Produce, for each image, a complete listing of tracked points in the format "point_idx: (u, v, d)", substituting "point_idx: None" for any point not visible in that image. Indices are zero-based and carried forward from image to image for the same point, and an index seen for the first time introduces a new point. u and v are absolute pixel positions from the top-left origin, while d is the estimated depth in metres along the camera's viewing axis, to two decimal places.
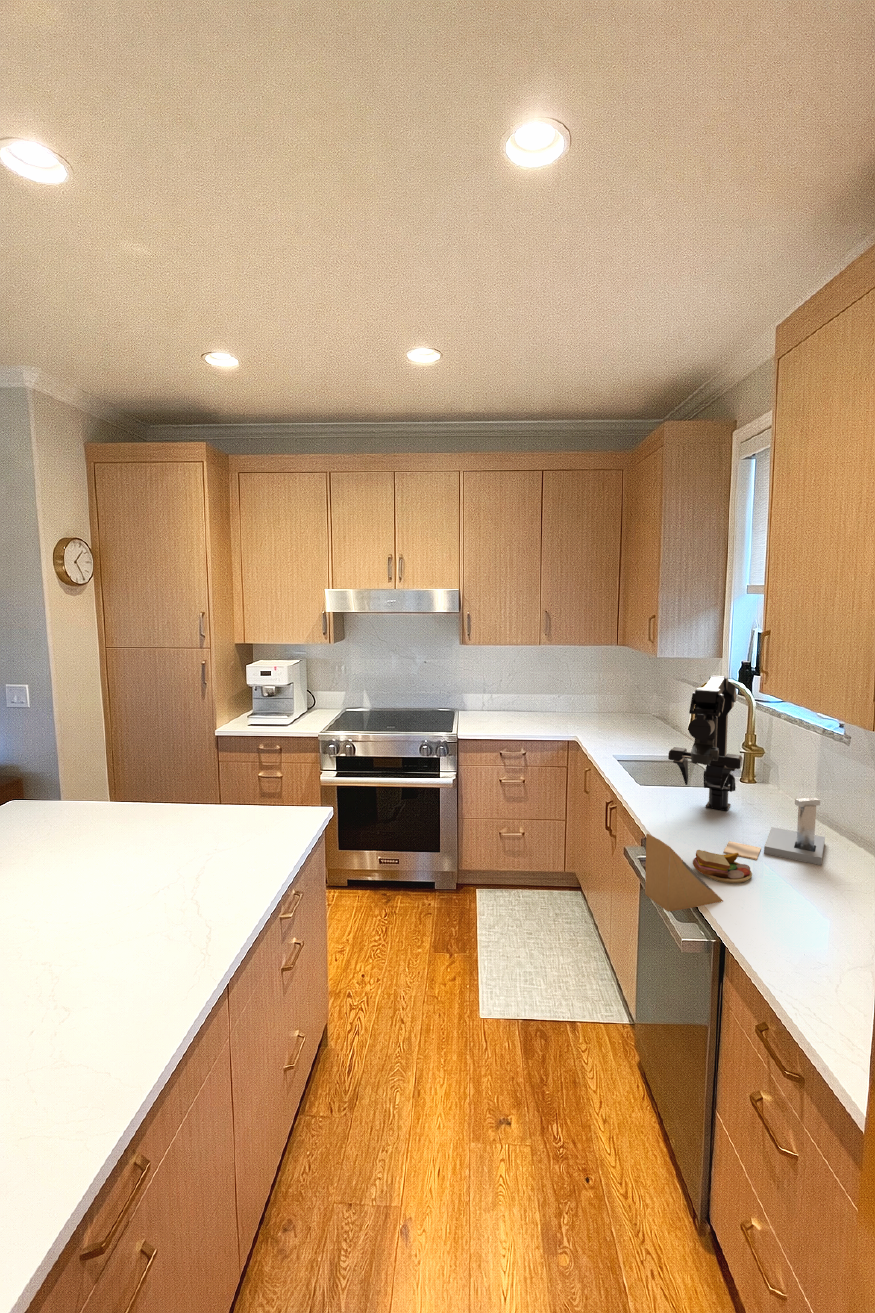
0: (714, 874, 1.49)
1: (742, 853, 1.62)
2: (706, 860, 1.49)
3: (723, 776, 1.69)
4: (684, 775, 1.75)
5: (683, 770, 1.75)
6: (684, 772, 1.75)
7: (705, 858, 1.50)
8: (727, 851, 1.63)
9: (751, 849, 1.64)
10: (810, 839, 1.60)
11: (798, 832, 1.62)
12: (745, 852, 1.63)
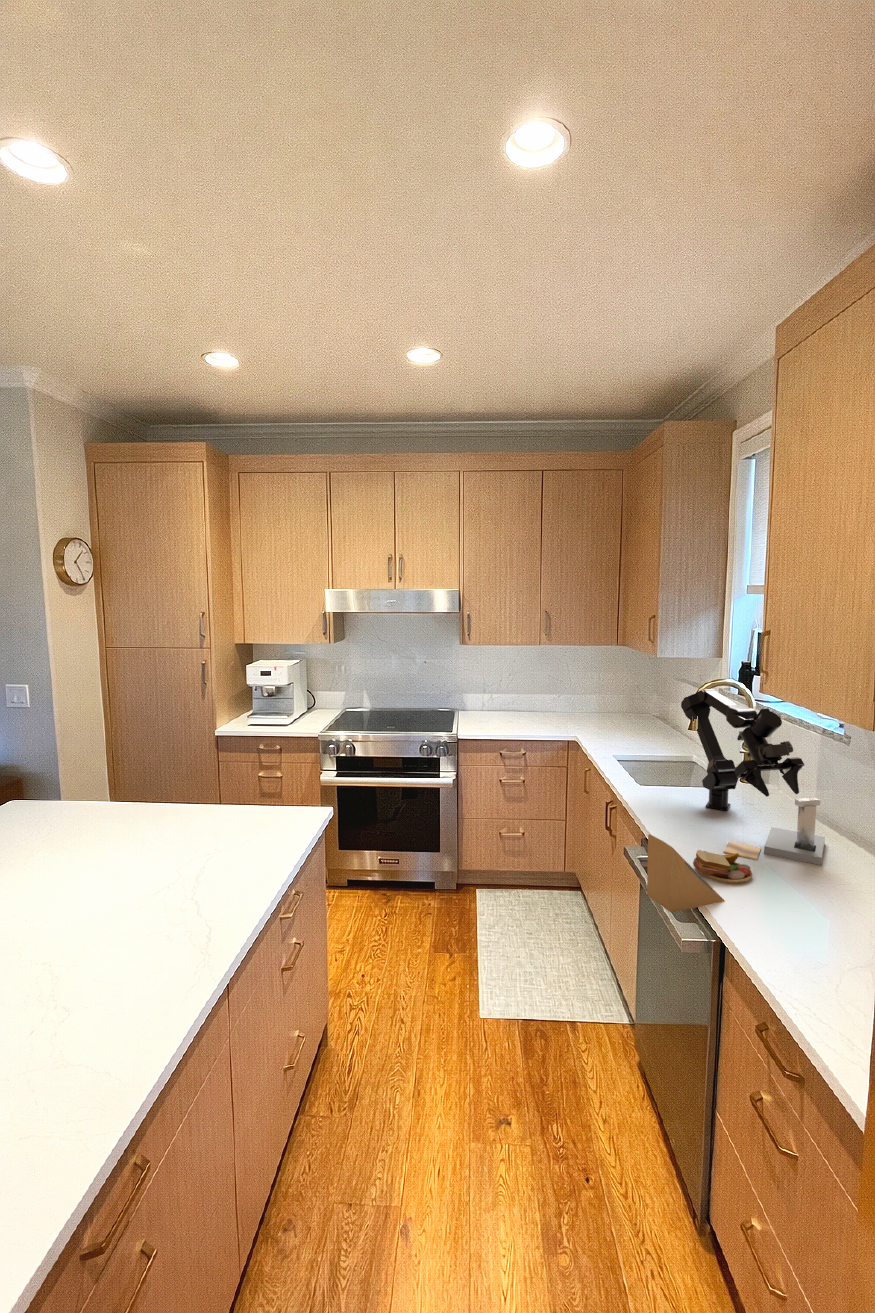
0: (715, 874, 1.48)
1: (742, 853, 1.62)
2: (706, 860, 1.49)
3: (794, 777, 1.72)
4: (763, 784, 1.69)
5: (761, 780, 1.70)
6: (762, 781, 1.70)
7: (705, 859, 1.50)
8: (727, 851, 1.63)
9: (751, 849, 1.64)
10: (810, 839, 1.60)
11: (798, 832, 1.62)
12: (745, 852, 1.63)
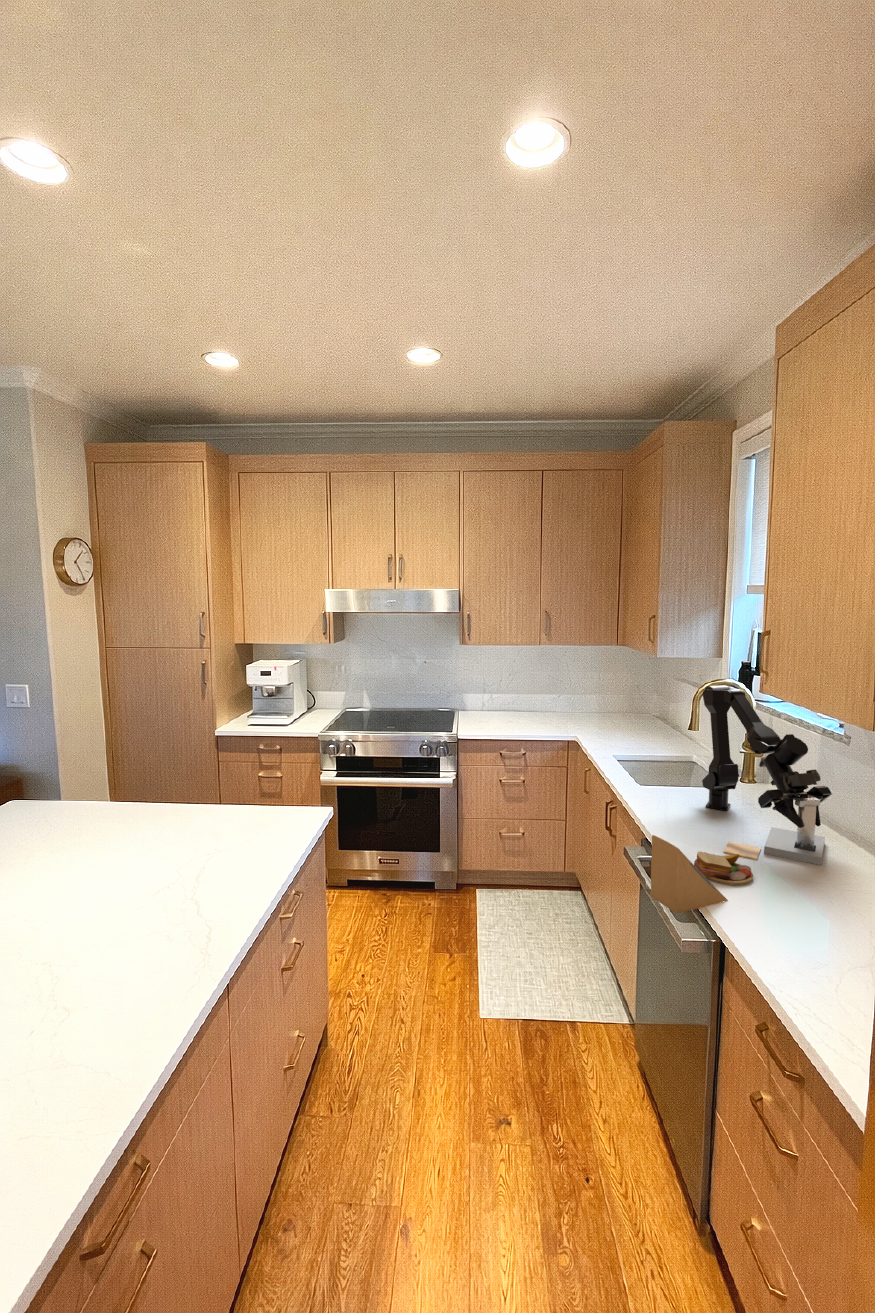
0: (716, 876, 1.48)
1: (742, 853, 1.62)
2: (708, 862, 1.48)
3: None
4: (796, 815, 1.60)
5: (793, 810, 1.61)
6: (795, 811, 1.61)
7: (706, 860, 1.49)
8: (727, 851, 1.63)
9: (751, 849, 1.64)
10: (810, 839, 1.60)
11: (798, 832, 1.62)
12: (745, 852, 1.63)
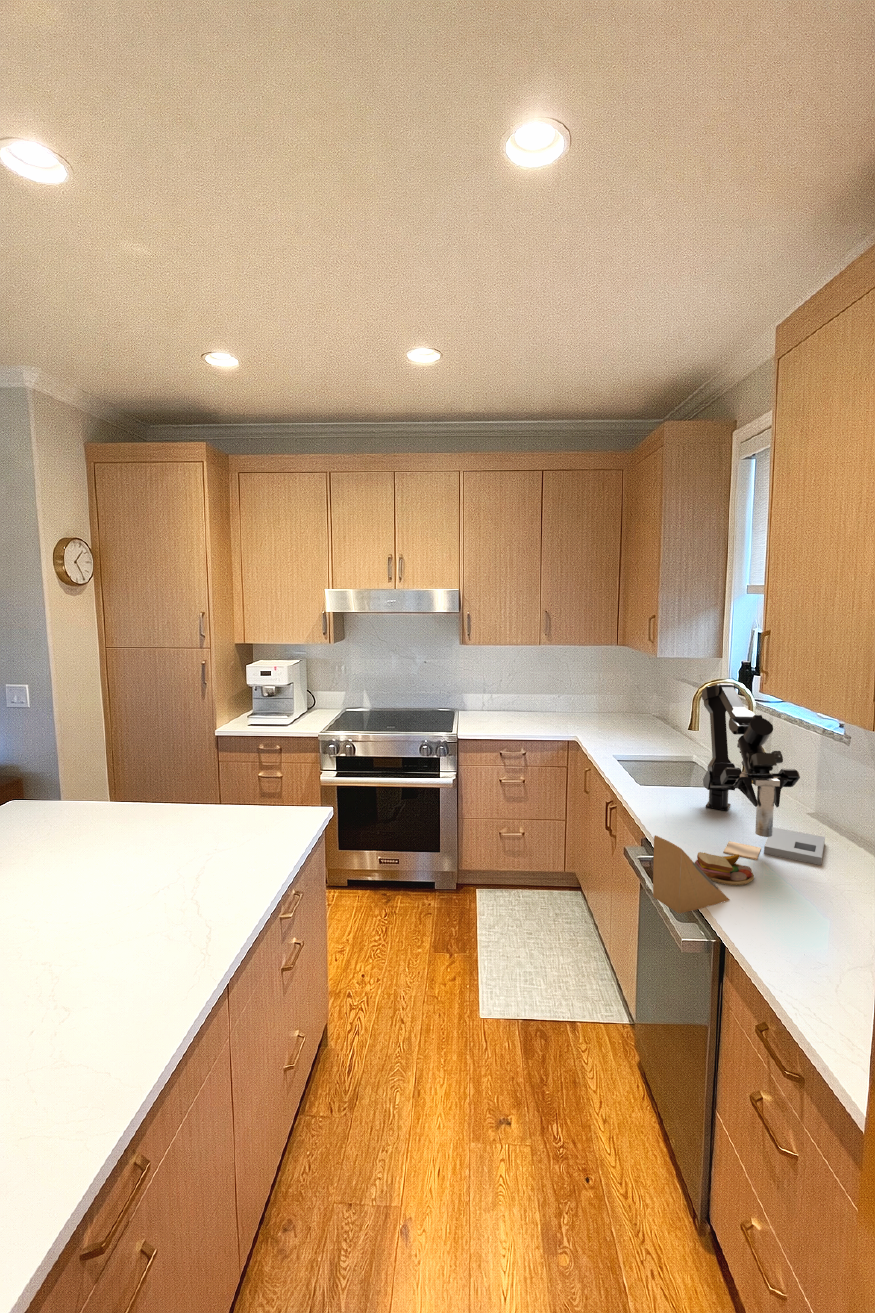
0: (717, 876, 1.47)
1: (742, 853, 1.62)
2: (709, 862, 1.48)
3: (776, 789, 1.62)
4: (753, 794, 1.62)
5: (751, 789, 1.62)
6: (752, 790, 1.62)
7: (707, 861, 1.49)
8: (727, 851, 1.63)
9: (751, 849, 1.64)
10: (766, 819, 1.60)
11: (756, 812, 1.62)
12: (745, 852, 1.63)
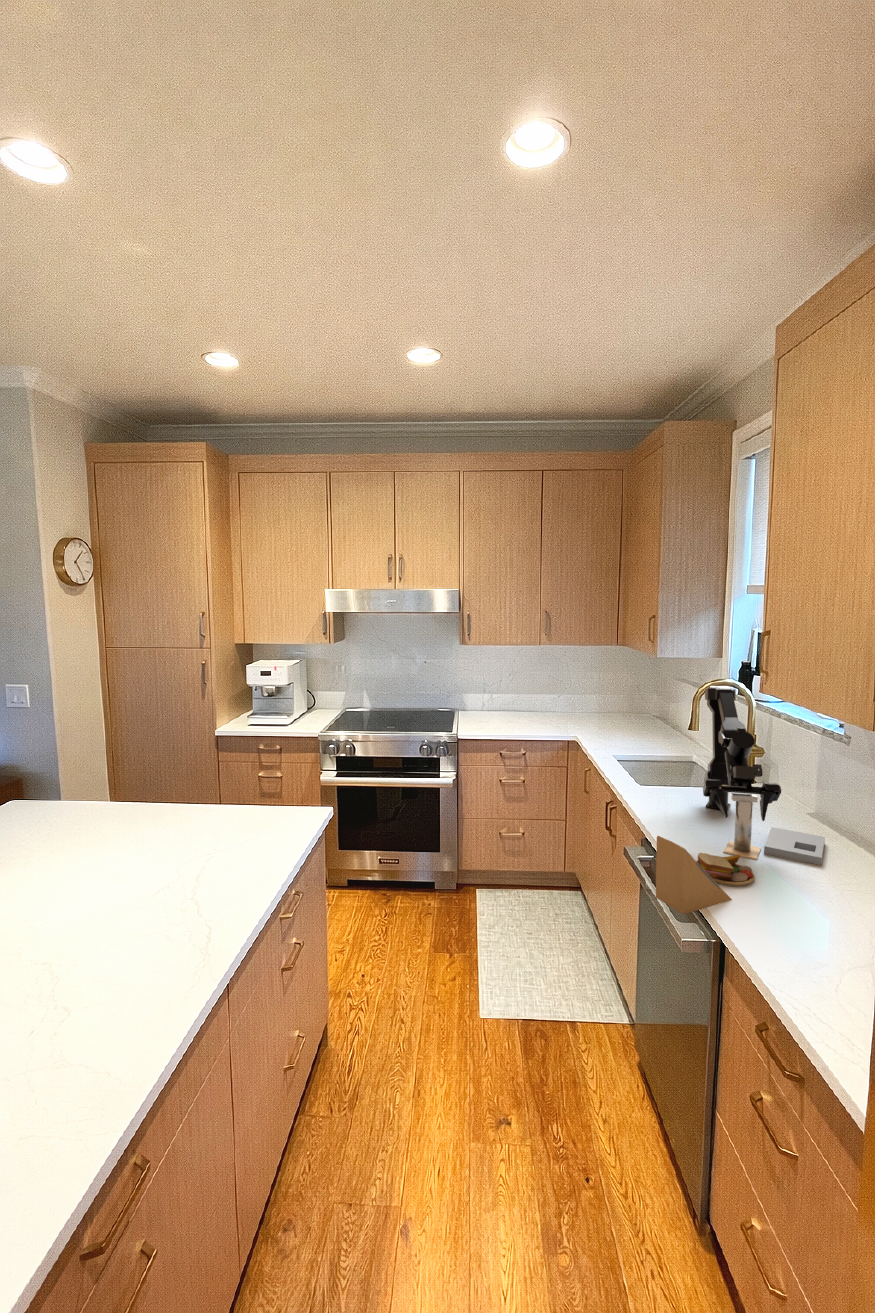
0: (718, 877, 1.47)
1: (742, 853, 1.62)
2: (709, 863, 1.48)
3: (764, 803, 1.63)
4: (724, 805, 1.64)
5: (722, 800, 1.65)
6: (724, 802, 1.65)
7: (708, 862, 1.48)
8: (727, 851, 1.63)
9: (751, 849, 1.64)
10: (743, 834, 1.62)
11: None
12: (745, 852, 1.63)
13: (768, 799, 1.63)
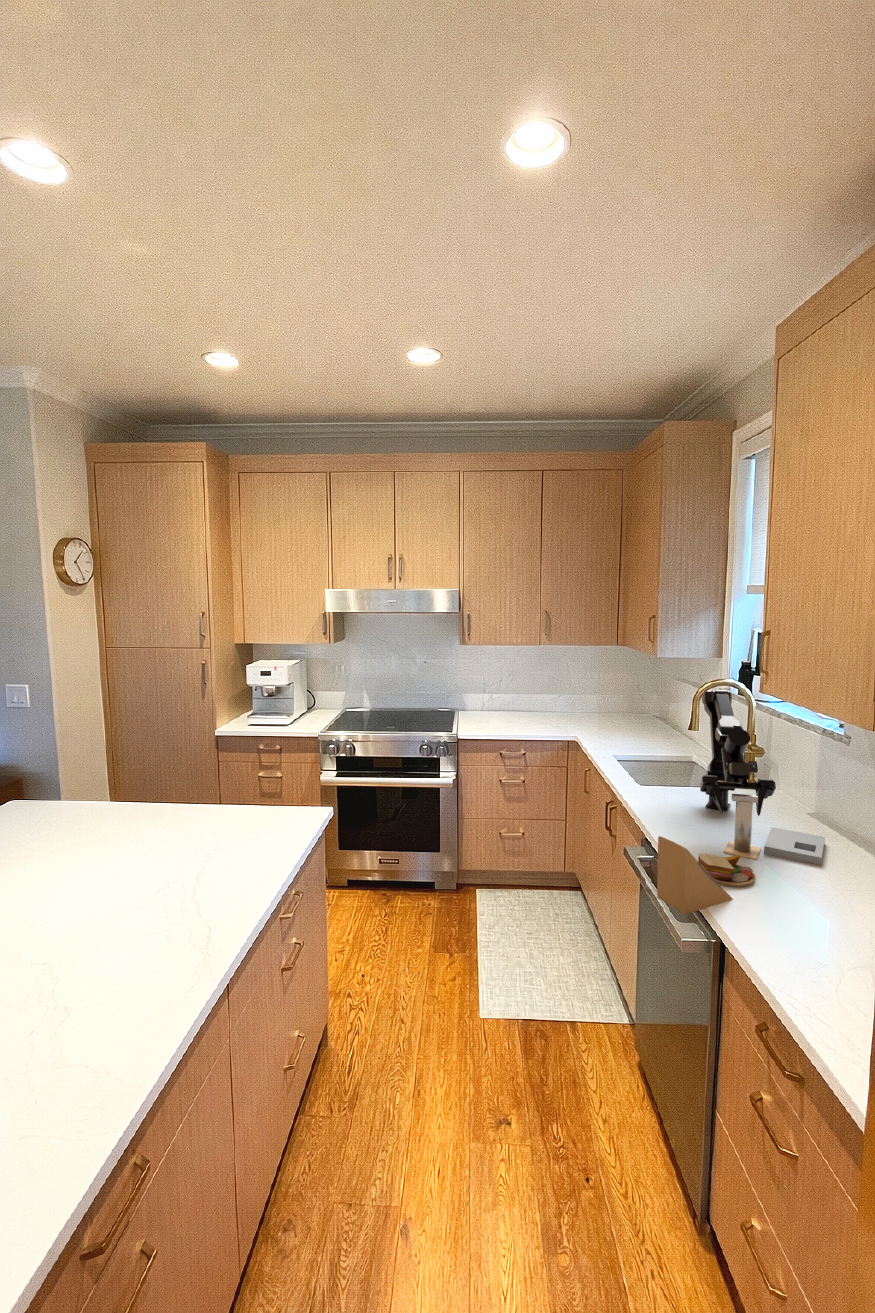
0: (719, 878, 1.46)
1: (742, 853, 1.62)
2: (710, 864, 1.47)
3: (759, 798, 1.68)
4: (720, 801, 1.69)
5: (718, 796, 1.70)
6: (719, 797, 1.70)
7: (709, 862, 1.48)
8: (727, 851, 1.63)
9: (751, 849, 1.64)
10: (743, 834, 1.62)
11: None
12: (745, 852, 1.63)
13: (763, 794, 1.68)
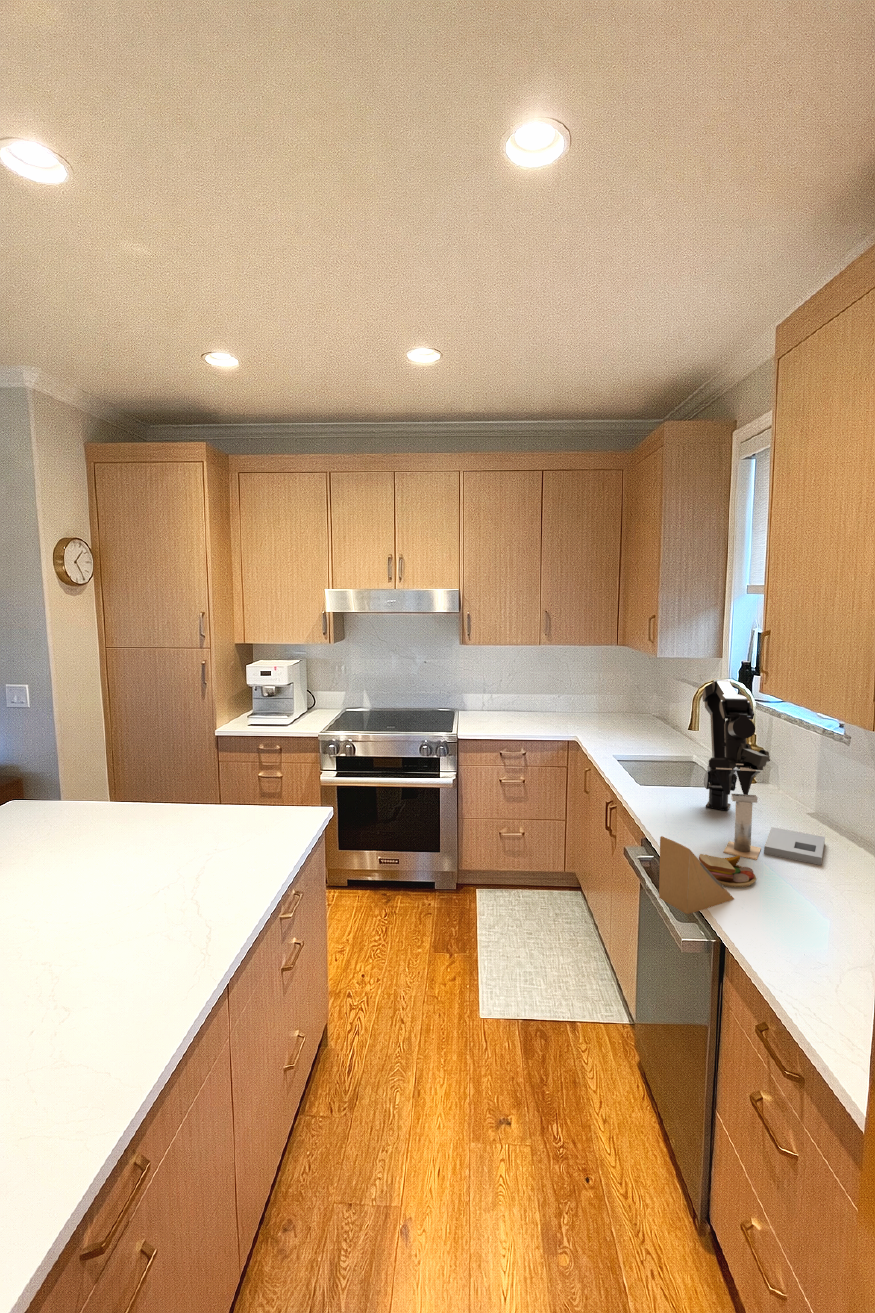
0: (720, 879, 1.46)
1: (742, 853, 1.62)
2: (711, 865, 1.47)
3: (750, 780, 1.77)
4: (730, 784, 1.71)
5: (730, 779, 1.71)
6: (730, 781, 1.71)
7: (710, 863, 1.48)
8: (727, 851, 1.63)
9: (751, 849, 1.64)
10: (743, 834, 1.62)
11: None
12: (745, 852, 1.63)
13: (753, 776, 1.77)
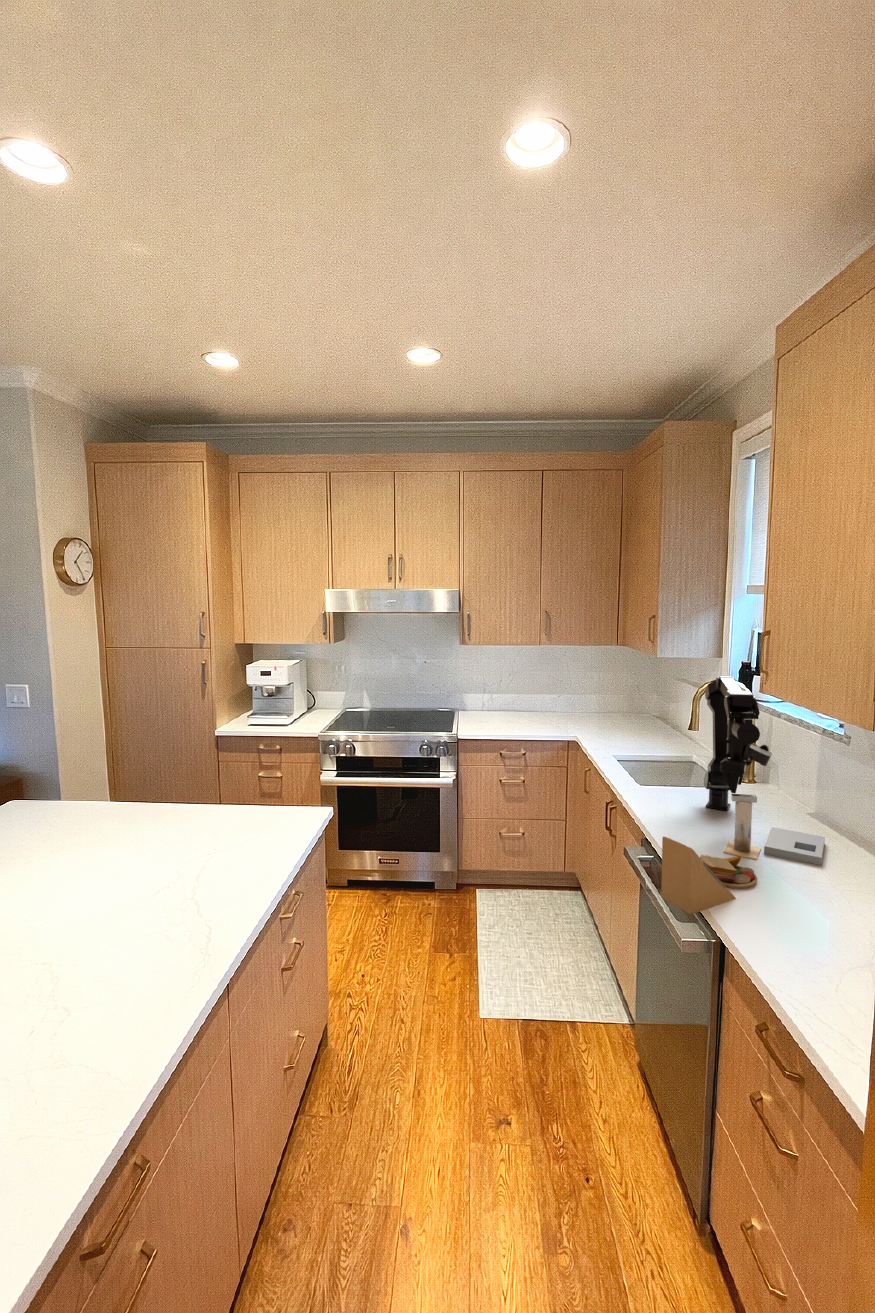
0: (721, 880, 1.46)
1: (742, 853, 1.62)
2: (713, 866, 1.46)
3: None
4: (737, 784, 1.71)
5: (738, 779, 1.70)
6: (738, 781, 1.71)
7: (711, 864, 1.47)
8: (727, 851, 1.63)
9: (751, 849, 1.64)
10: (743, 834, 1.62)
11: None
12: (745, 852, 1.63)
13: None
